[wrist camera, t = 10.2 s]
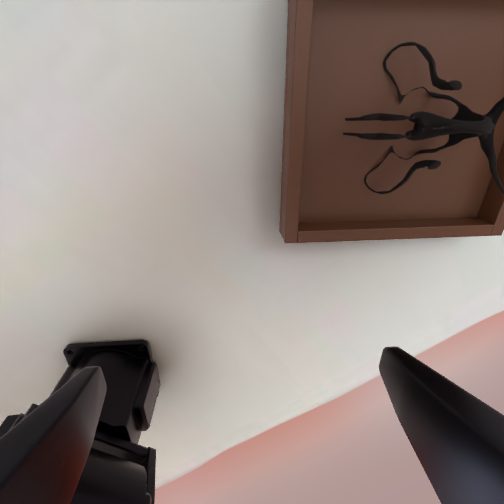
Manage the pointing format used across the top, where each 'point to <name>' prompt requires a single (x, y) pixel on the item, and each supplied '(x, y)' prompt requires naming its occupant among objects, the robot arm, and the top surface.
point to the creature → (438, 124)
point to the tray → (387, 101)
